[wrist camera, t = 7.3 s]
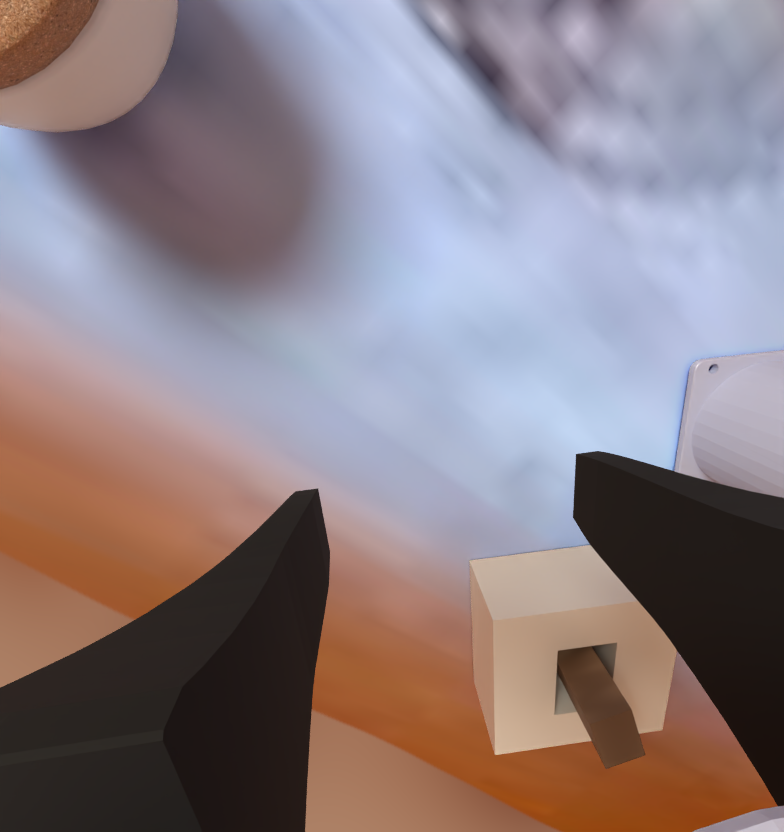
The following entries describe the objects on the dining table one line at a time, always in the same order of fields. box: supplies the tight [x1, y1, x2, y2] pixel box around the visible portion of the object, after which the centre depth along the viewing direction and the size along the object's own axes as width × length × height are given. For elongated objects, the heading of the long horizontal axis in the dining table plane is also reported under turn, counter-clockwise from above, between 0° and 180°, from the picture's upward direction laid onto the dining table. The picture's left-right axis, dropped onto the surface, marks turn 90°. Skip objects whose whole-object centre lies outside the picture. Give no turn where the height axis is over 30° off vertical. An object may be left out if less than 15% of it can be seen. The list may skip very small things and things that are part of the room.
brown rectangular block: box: [557, 646, 645, 769], centre depth 22 cm, size 2×4×7 cm, turn 23°
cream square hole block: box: [469, 545, 677, 755], centre depth 23 cm, size 10×10×4 cm
